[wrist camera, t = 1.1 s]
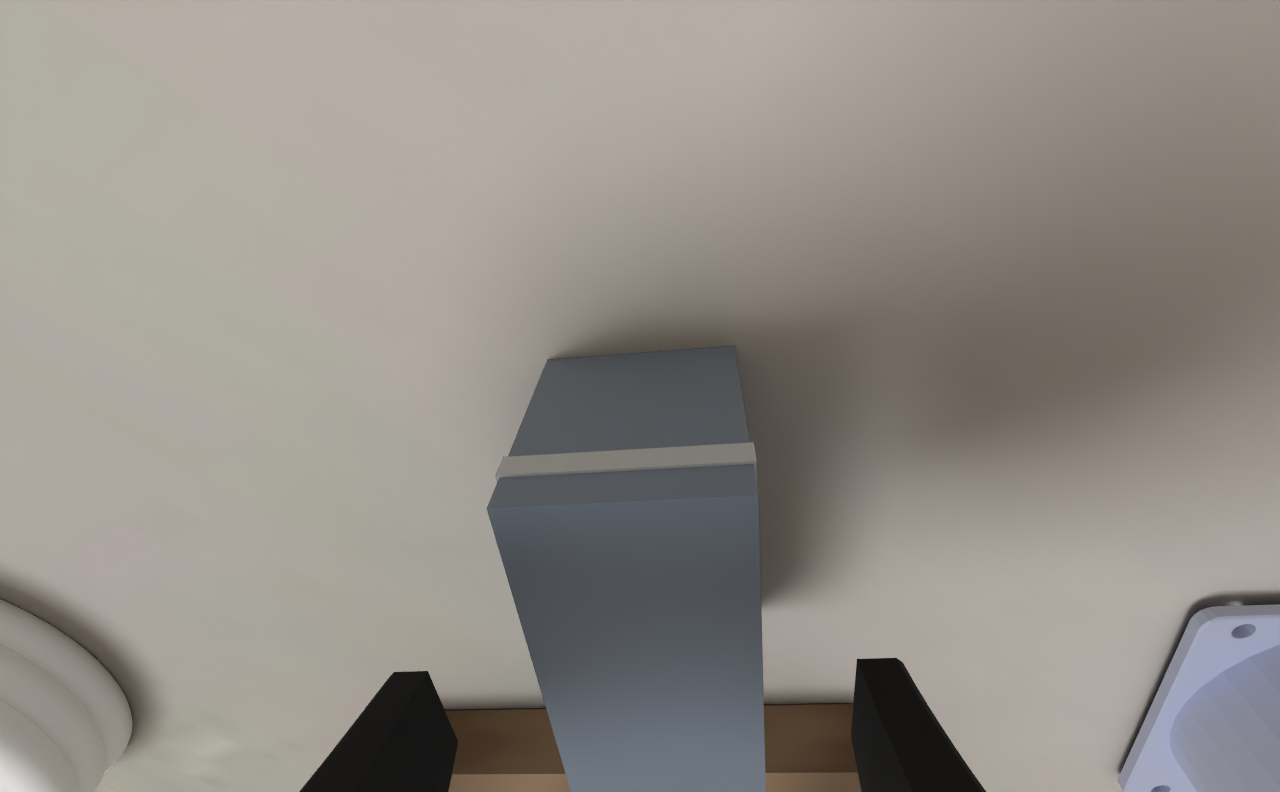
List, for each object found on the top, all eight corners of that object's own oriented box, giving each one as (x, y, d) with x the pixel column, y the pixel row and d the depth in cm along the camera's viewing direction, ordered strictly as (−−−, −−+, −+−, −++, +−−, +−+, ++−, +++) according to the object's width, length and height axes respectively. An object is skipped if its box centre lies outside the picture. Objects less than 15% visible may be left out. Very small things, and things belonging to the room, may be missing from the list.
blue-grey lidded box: (736, 341, 13) (762, 491, 9) (747, 610, 17) (768, 803, 13) (545, 355, 14) (482, 505, 9) (599, 614, 18) (571, 803, 13)
